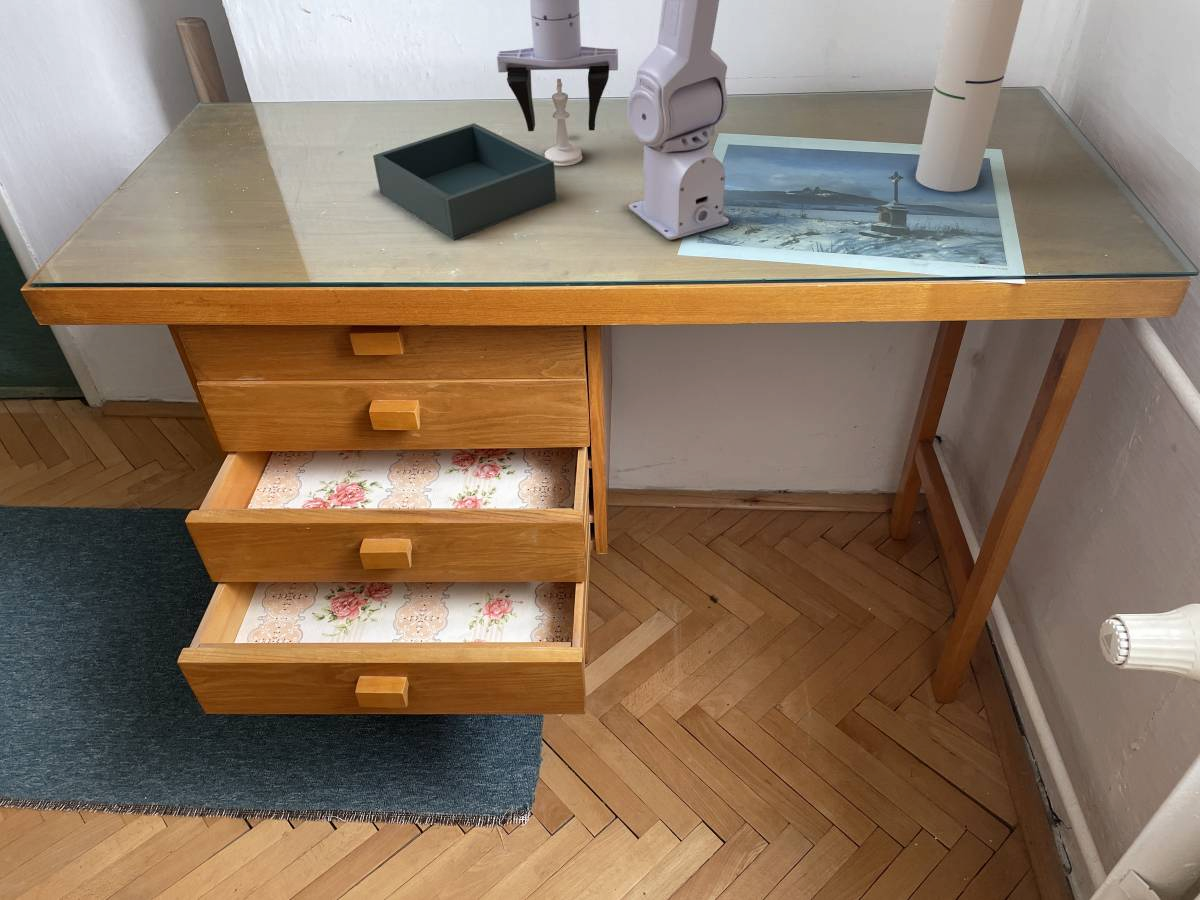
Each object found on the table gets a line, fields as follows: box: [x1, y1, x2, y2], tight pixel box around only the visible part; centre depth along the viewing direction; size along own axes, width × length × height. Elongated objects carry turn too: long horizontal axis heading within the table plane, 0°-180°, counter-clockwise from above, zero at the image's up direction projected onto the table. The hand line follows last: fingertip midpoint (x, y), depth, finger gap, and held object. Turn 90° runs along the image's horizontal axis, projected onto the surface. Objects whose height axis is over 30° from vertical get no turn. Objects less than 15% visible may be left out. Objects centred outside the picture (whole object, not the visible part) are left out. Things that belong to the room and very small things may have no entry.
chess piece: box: [544, 78, 583, 167], centre depth 115 cm, size 5×5×10 cm
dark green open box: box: [372, 122, 557, 241], centre depth 109 cm, size 17×15×5 cm
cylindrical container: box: [915, 0, 1025, 193], centre depth 103 cm, size 7×7×25 cm
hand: (561, 128), depth 116 cm, fingers open, 7 cm apart
